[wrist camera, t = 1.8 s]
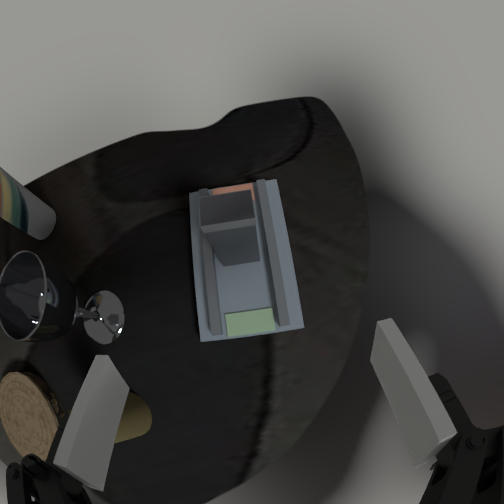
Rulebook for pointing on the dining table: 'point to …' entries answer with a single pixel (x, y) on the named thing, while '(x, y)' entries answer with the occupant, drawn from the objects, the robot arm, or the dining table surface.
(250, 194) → the handle
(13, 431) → the wood slice
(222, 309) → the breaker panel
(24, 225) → the lotion bottle
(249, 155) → the dining table surface
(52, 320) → the wine glass
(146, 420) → the cork
